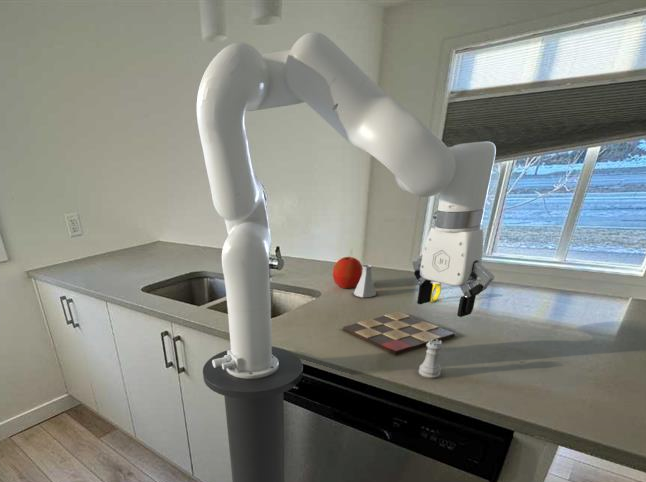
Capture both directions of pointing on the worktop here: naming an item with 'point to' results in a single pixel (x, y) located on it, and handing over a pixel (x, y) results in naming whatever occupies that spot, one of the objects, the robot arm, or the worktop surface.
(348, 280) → the apple
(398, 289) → the worktop surface
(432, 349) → the rook chess piece
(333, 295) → the worktop surface
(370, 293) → the flask
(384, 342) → the board
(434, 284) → the yellow ring
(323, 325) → the worktop surface
